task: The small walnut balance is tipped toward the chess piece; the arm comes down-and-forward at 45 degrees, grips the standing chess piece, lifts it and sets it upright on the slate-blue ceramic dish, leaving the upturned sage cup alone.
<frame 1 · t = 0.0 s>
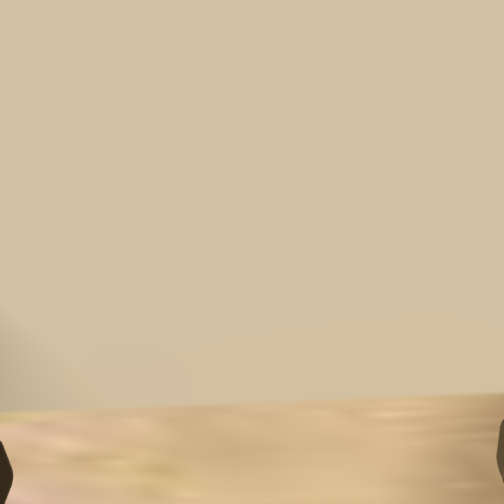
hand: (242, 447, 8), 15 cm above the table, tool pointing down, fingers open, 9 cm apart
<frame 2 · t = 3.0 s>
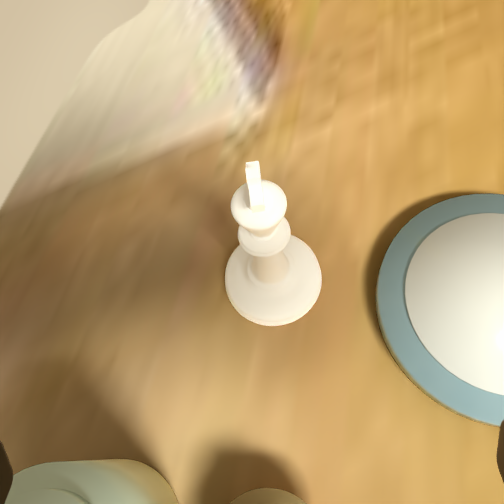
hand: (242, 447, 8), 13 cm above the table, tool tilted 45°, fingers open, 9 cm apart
dish: (494, 305, 22), on the table
chess piece: (273, 280, 24), on the table
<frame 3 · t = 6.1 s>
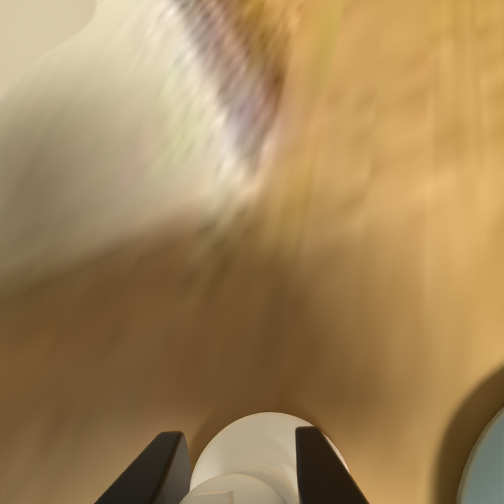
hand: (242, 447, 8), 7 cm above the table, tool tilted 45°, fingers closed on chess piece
chess piece: (271, 499, 14), on the table, touching gripper
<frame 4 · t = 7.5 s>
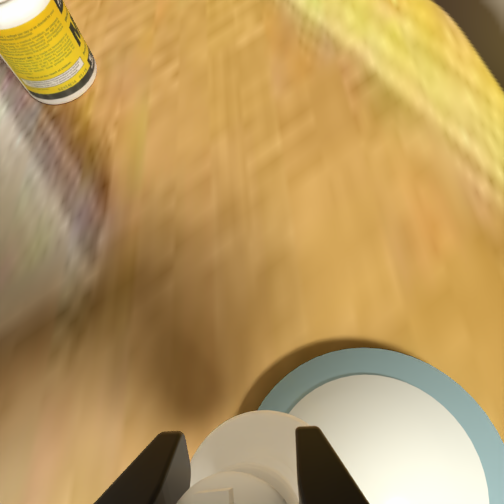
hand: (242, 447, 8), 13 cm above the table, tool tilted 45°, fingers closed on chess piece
dish: (370, 483, 20), on the table
chess piece: (265, 496, 14), point 6 cm above the table, touching gripper
supplement bottle: (64, 79, 31), on the table
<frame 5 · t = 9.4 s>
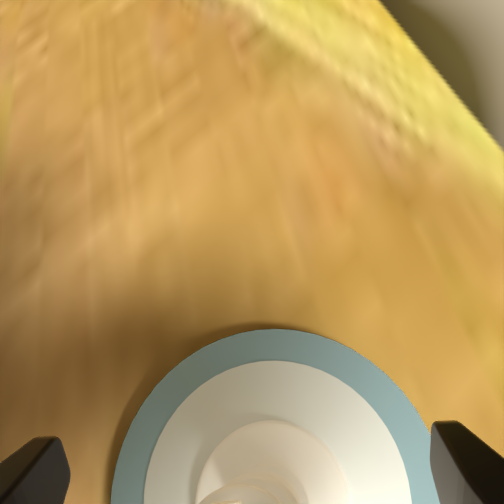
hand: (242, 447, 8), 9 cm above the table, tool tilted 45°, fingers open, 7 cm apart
dish: (275, 492, 16), on the table
chess piece: (273, 501, 15), point 1 cm above the table, touching dish
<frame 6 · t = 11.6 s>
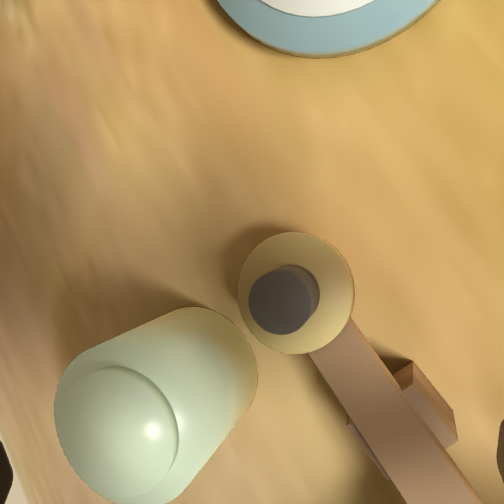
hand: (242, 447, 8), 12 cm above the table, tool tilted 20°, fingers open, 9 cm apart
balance: (401, 404, 19), on the table
sage cup: (197, 369, 22), on the table
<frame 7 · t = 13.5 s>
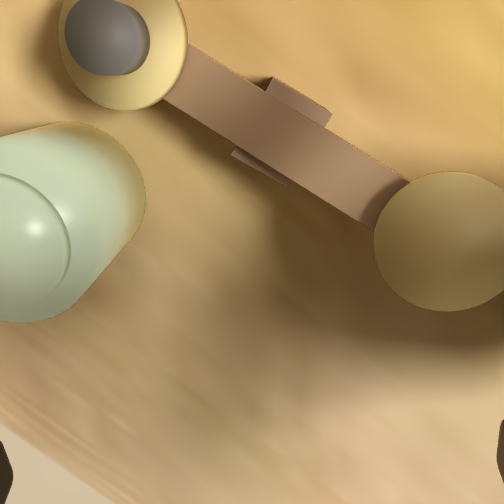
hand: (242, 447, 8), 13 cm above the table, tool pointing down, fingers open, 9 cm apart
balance: (280, 126, 19), on the table
sage cup: (77, 192, 20), on the table
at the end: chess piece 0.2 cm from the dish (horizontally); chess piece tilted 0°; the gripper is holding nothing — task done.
